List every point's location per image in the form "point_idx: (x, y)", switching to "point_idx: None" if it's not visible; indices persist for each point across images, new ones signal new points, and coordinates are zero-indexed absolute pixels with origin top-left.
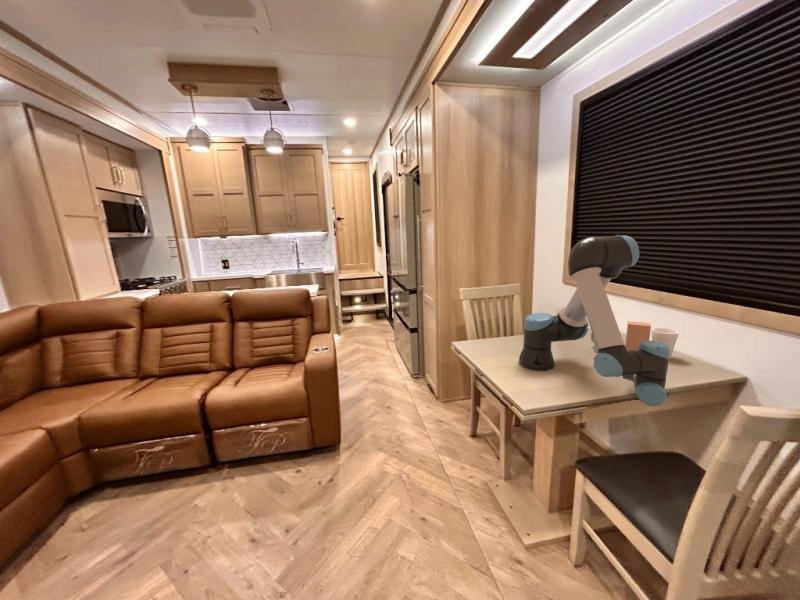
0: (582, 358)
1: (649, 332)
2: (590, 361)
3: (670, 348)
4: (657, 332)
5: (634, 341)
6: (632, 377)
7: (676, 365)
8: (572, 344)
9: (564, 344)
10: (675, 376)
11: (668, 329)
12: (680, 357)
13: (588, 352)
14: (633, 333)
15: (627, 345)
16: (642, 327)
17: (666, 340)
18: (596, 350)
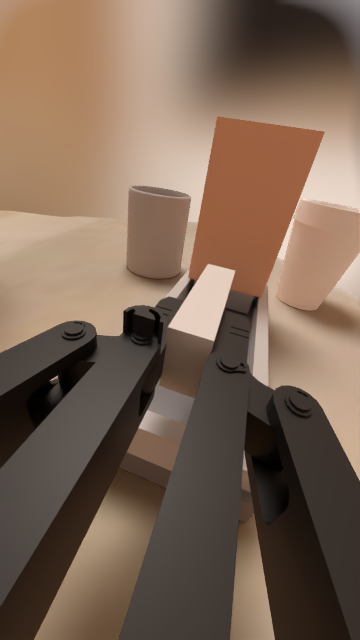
0: (44, 286)
1: (303, 177)
2: (54, 302)
3: (337, 273)
4: (320, 206)
5: (228, 227)
6: (123, 463)
7: (339, 335)
8: (92, 242)
9: (69, 239)
10: (351, 415)
11: (346, 208)
12: (341, 302)
13: (103, 266)
14: (231, 181)
15: (199, 245)
16: (279, 141)
17: (339, 241)
18: (127, 262)
